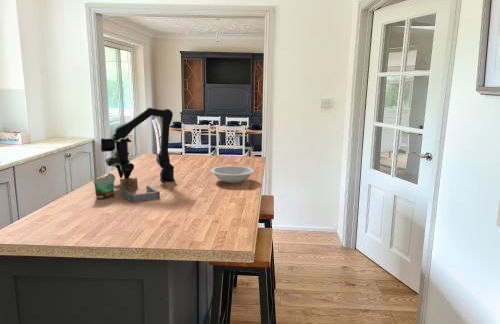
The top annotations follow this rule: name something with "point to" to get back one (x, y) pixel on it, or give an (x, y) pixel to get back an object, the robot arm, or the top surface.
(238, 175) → the soup bowl
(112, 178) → the food container
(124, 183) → the wooden t-shaped block
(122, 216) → the top surface
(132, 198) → the corral
